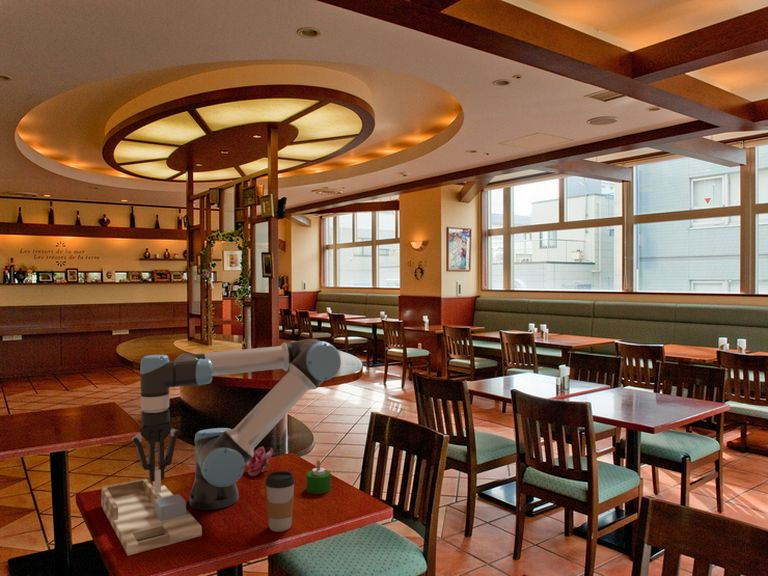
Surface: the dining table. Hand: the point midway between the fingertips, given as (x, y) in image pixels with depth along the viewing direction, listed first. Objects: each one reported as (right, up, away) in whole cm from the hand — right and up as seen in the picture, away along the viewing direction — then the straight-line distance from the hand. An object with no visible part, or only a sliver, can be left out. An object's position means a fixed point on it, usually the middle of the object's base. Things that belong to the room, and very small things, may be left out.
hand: (157, 491), depth 157 cm
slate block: (+2, -8, +4) cm, 9 cm away
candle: (+43, -11, +30) cm, 53 cm away
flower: (+19, -11, +47) cm, 52 cm away
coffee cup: (+35, -11, +1) cm, 37 cm away
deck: (-5, -10, +5) cm, 13 cm away
